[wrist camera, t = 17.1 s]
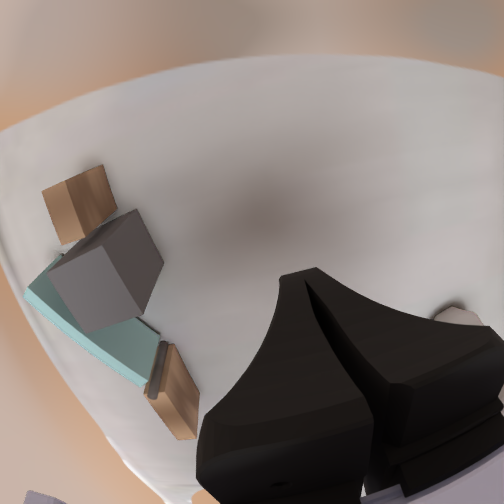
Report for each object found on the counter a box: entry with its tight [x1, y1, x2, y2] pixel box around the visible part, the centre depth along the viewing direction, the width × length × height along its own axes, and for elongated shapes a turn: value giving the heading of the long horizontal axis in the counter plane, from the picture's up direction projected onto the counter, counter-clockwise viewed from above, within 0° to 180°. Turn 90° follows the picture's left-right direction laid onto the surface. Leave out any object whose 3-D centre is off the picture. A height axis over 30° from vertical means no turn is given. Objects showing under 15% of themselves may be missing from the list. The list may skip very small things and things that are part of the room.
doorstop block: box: [46, 209, 164, 334], centre depth 17 cm, size 4×4×6 cm
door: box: [23, 254, 160, 387], centre depth 18 cm, size 10×2×5 cm, turn 44°
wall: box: [42, 165, 200, 440], centre depth 19 cm, size 20×2×5 cm, turn 13°
